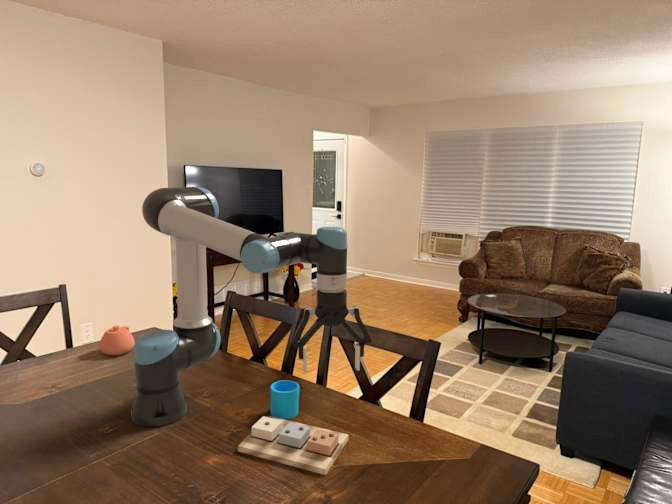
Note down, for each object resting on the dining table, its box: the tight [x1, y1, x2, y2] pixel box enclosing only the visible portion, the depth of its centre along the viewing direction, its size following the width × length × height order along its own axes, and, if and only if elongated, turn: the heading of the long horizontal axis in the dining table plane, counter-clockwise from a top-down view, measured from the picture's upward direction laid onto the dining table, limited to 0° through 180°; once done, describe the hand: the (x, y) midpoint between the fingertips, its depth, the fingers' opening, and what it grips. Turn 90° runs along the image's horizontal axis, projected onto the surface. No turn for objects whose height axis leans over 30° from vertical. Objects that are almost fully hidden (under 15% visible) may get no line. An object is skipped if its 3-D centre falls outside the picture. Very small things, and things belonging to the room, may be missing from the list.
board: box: [237, 415, 350, 476], centre depth 122 cm, size 24×16×2 cm, turn 69°
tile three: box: [306, 429, 339, 457], centre depth 119 cm, size 6×6×3 cm
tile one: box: [251, 415, 283, 442], centre depth 124 cm, size 6×6×3 cm
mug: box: [270, 379, 301, 420], centre depth 140 cm, size 12×8×8 cm
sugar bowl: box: [98, 325, 136, 356], centre depth 181 cm, size 12×14×10 cm
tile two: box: [278, 422, 310, 449], centre depth 122 cm, size 6×6×3 cm
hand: (331, 369), depth 121 cm, fingers open, 13 cm apart
